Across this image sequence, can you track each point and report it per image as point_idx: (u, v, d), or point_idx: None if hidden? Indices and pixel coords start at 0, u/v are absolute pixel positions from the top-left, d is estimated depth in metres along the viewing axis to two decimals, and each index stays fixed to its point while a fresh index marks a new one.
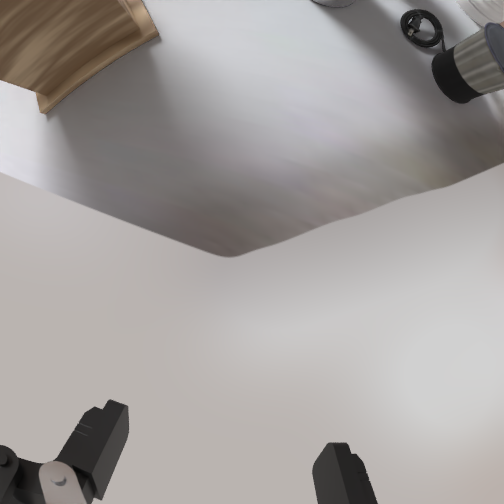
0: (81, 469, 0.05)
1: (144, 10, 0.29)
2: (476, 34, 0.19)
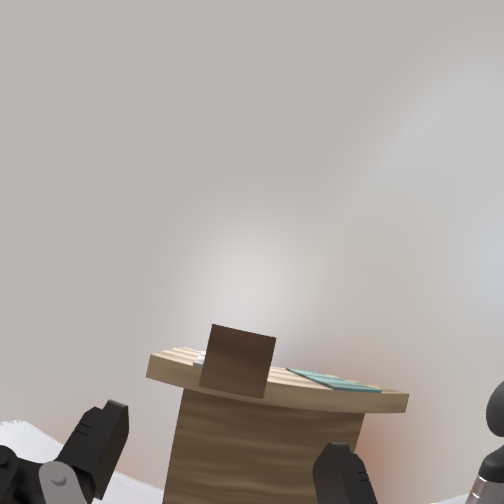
0: (81, 469, 0.05)
1: None
2: None
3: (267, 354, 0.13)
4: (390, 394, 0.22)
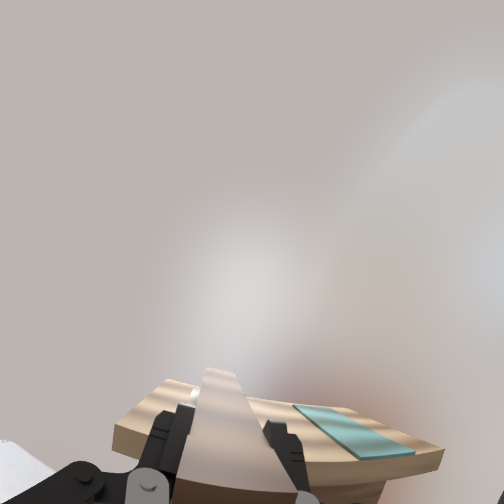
0: (168, 472, 0.06)
1: None
2: None
3: None
4: (424, 454, 0.14)
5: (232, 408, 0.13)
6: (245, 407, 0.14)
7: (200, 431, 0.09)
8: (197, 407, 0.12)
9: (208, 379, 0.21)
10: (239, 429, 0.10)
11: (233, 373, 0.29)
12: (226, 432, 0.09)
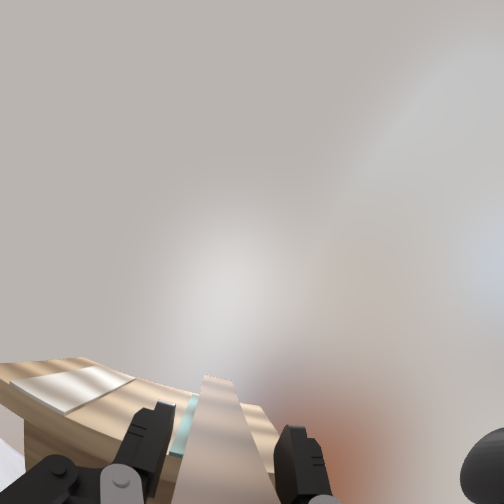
0: (142, 469, 0.06)
1: None
2: None
3: None
4: (269, 474, 0.13)
5: (228, 425, 0.13)
6: (241, 423, 0.14)
7: (195, 453, 0.09)
8: (193, 425, 0.12)
9: (205, 390, 0.21)
10: (233, 450, 0.10)
11: (231, 382, 0.28)
12: (221, 453, 0.09)
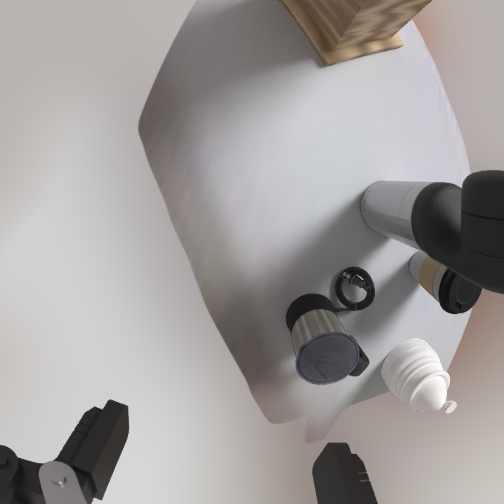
0: (81, 469, 0.05)
1: (353, 54, 0.39)
2: (342, 328, 0.39)
3: None
4: None
5: None
6: None
7: None
8: None
9: None
10: None
11: None
12: None
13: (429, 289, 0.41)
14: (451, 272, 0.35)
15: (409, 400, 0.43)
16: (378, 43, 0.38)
